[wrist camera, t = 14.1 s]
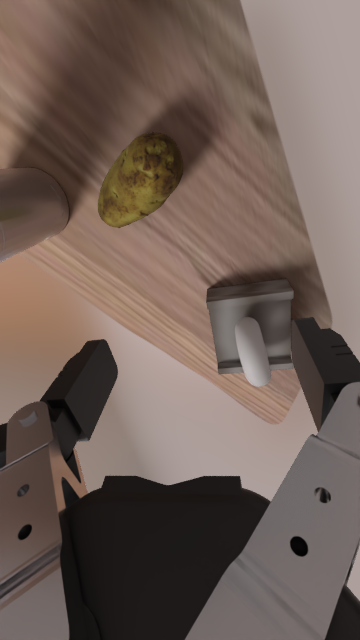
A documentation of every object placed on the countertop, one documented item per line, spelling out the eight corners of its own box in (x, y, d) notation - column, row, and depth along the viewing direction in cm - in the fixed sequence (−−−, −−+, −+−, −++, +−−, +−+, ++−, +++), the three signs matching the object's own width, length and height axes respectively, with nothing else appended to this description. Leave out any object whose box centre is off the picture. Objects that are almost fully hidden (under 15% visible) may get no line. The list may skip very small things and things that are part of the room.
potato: (86, 166, 36) (56, 168, 29) (177, 125, 32) (166, 117, 26) (114, 227, 40) (93, 242, 33) (198, 196, 36) (193, 206, 29)
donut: (230, 308, 41) (233, 348, 32) (253, 302, 40) (262, 341, 32) (246, 357, 45) (253, 404, 37) (267, 353, 44) (279, 400, 36)
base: (218, 357, 50) (218, 374, 46) (207, 289, 43) (206, 302, 39) (286, 351, 47) (292, 368, 44) (286, 278, 41) (293, 291, 37)
